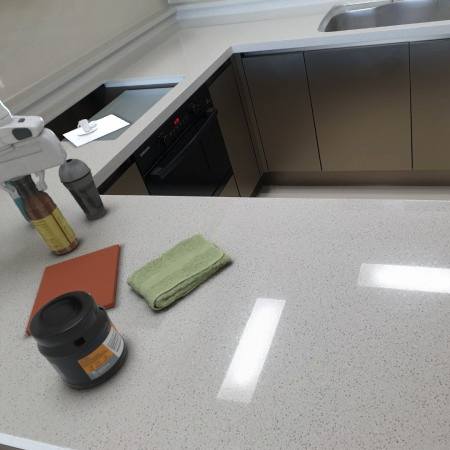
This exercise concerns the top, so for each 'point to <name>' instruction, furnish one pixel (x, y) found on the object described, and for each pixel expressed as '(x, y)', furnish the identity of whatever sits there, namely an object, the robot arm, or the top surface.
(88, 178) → the beverage cup
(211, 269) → the washcloth
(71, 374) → the supplement container
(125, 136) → the top surface
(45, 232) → the sauce bottle
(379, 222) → the top surface
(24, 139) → the robot arm
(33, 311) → the condiment mat
